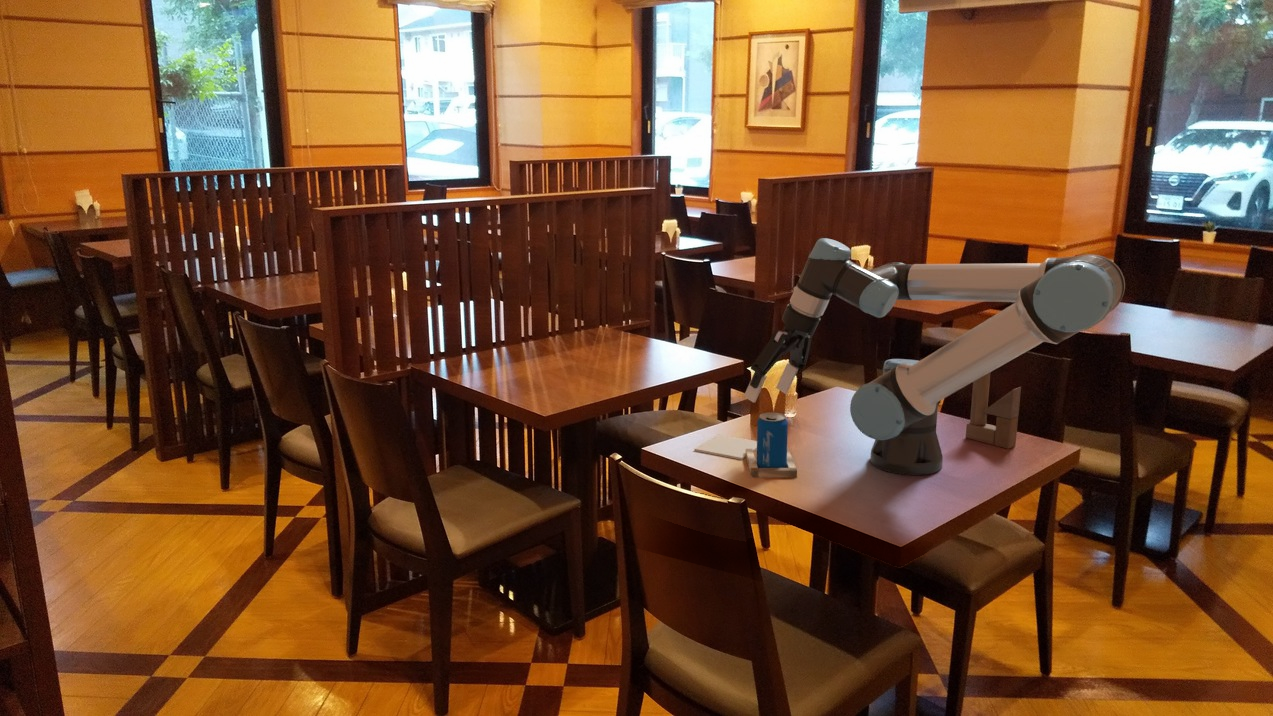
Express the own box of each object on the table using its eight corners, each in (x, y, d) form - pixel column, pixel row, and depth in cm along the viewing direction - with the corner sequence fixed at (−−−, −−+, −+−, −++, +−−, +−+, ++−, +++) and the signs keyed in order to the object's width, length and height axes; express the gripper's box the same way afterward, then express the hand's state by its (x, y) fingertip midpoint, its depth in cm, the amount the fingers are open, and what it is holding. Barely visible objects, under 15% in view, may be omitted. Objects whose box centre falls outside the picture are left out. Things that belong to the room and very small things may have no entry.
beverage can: (752, 471, 193) (753, 418, 190) (762, 462, 198) (763, 410, 195) (780, 476, 190) (782, 422, 187) (790, 466, 195) (792, 414, 192)
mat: (763, 444, 210) (763, 442, 210) (741, 459, 200) (741, 457, 200) (717, 436, 216) (718, 434, 216) (694, 450, 206) (694, 448, 206)
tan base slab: (745, 454, 203) (745, 448, 203) (788, 454, 203) (788, 448, 202) (751, 477, 189) (751, 470, 189) (796, 477, 189) (797, 470, 189)
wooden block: (1008, 449, 204) (1015, 373, 200) (964, 438, 212) (970, 364, 208) (1016, 445, 207) (1023, 370, 202) (973, 434, 215) (979, 362, 210)
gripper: (818, 298, 200) (780, 378, 208) (760, 305, 181) (721, 393, 189) (846, 314, 196) (806, 395, 204) (789, 322, 177) (748, 412, 185)
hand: (765, 395), depth 197 cm, fingers open, 13 cm apart
